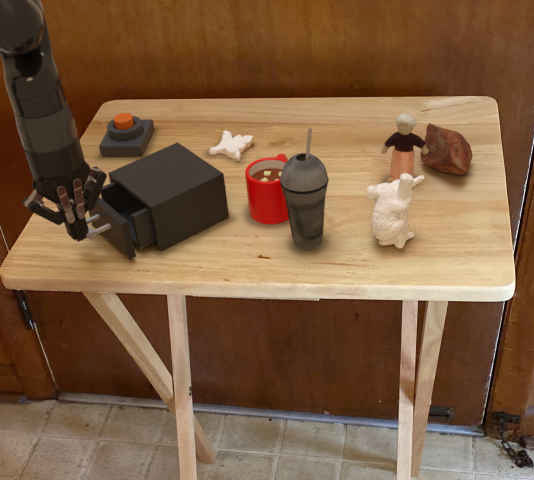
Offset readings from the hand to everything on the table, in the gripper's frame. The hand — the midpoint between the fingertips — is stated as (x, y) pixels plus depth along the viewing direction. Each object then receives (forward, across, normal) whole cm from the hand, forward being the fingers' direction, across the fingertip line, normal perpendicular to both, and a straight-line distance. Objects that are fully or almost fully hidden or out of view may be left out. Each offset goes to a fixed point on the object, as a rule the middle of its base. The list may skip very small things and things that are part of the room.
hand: (79, 237), depth 122 cm
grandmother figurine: (+8, -53, +15) cm, 56 cm away
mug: (+8, -33, +5) cm, 34 cm away
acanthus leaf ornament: (+8, -38, -15) cm, 42 cm away
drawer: (+6, -10, -4) cm, 13 cm away
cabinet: (+7, -18, -4) cm, 20 cm away
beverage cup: (+8, -30, +17) cm, 35 cm away
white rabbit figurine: (+8, -40, +26) cm, 48 cm away
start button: (+4, -25, -31) cm, 40 cm away
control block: (+8, -25, -31) cm, 41 cm away
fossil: (+8, -61, +17) cm, 64 cm away
